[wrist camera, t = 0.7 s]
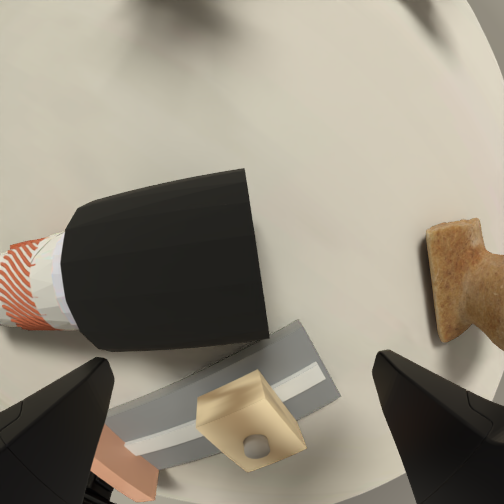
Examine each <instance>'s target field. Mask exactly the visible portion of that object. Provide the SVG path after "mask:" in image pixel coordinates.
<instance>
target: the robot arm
mask: <svg viewBox="0 0 504 504" xmlns="http://www.w3.org/2000/svg"><path fill="white" fill-rule="evenodd" d="M372 376H373V379H374V383H375V386H376V389H377V393H378V397H379V400H380V404H381V407H382V410H383V413H384V416H385V418H386V421H387V423H388V426H389V428H390V431H391V433H392V436H393V439H394V441H395V444H396V446H397V449H398V452H399V454H400V457H401V460H402V462H403V465H404V468H405V471H406V473H407V476H408V479H409V482H410V485H411V488H412V491H413V494H414V497H415V500H416V503H417V504H504V406H502V405H499V404H497V403H494V402H492V401H489V400H487V399H485V398H482V397H480V396H478V395H476V394H474V393H472V392H470V391H468V390H467V391H466V389H464V388H462V387H460V386H458V385H456V384H454V383H452V382H450V381H448V380H446V379H445V378H443V377H441V376H439V375H437V374H435V373H433V372H431V371H429V370H427V369H425V368H423V367H421V366H420V365H418V364H416V363H414V362H412V361H410V360H408V359H406V358H404V357H403V356H401V355H399V354H397V353H395V352H393V351H391V350H382V351H379V352H378V353H377V355H376V359H375V362H374V366H373V369H372ZM113 386H114V375H113V373H112V370H111V367H110V365H109V362H108V360H107V359H105V358H100V357H95V358H93V359H92V360H90V361H88V362H87V363H85V364H83V365H82V366H80V367H78V368H77V369H75V370H73V371H71V372H70V373H68V374H66V375H65V376H63V377H61V378H60V379H58V380H56V381H54V382H53V383H51V384H49V385H48V386H46V387H44V388H42V389H41V390H39V391H37V392H36V393H34V394H32V395H30V396H29V397H27V398H25V399H24V400H22V401H20V402H18V403H17V404H15V405H13V406H11V407H9V408H8V409H6V410H4V411H2V412H0V504H115V503H112V502H110V497H111V493H112V491H113V489H114V488H113V487H112V486H111V485H109V484H108V483H106V482H105V481H104V480H102V479H101V478H100V477H98V476H97V475H96V474H94V473H93V472H92V471H90V470H91V467H92V463H93V460H94V456H95V453H96V449H97V446H98V443H99V439H100V436H101V433H102V430H103V427H104V424H105V420H106V417H107V413H108V408H109V404H110V399H111V394H112V390H113Z"/></svg>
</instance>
